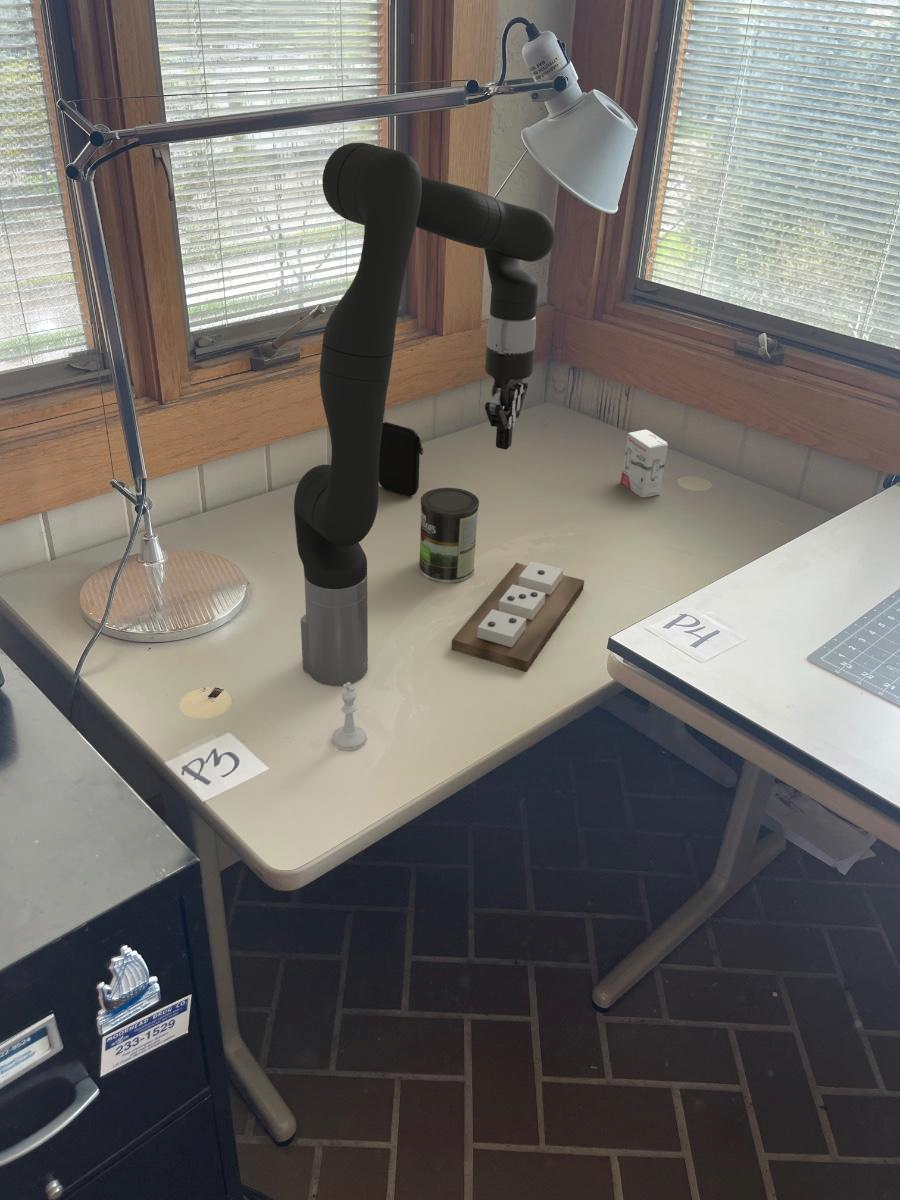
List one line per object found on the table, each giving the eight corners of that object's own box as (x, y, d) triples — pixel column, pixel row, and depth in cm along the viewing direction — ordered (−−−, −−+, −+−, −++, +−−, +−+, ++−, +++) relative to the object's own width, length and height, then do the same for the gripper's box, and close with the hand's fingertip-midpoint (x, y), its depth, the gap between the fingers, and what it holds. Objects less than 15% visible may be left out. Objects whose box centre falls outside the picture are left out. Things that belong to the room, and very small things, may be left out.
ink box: (619, 482, 220) (626, 431, 214) (638, 478, 222) (645, 428, 215) (641, 498, 213) (649, 446, 207) (660, 495, 215) (669, 443, 209)
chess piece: (349, 724, 147) (348, 668, 141) (374, 738, 144) (374, 682, 139) (324, 740, 143) (322, 683, 138) (349, 755, 141) (348, 698, 135)
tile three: (498, 610, 170) (499, 599, 168) (511, 594, 174) (512, 583, 173) (531, 620, 168) (533, 608, 166) (544, 603, 172) (545, 592, 171)
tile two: (477, 637, 163) (477, 626, 161) (491, 619, 167) (492, 608, 166) (511, 647, 161) (512, 635, 159) (525, 628, 165) (526, 617, 164)
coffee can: (430, 587, 180) (432, 516, 172) (411, 559, 188) (412, 491, 180) (483, 578, 183) (488, 509, 175) (462, 552, 191) (466, 484, 183)
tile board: (451, 649, 163) (452, 639, 162) (515, 572, 185) (516, 562, 184) (526, 671, 159) (527, 661, 158) (583, 589, 181) (584, 580, 180)
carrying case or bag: (425, 496, 210) (427, 430, 202) (417, 502, 208) (419, 435, 200) (383, 483, 215) (383, 418, 207) (374, 488, 212) (374, 422, 205)
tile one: (518, 586, 177) (519, 575, 175) (530, 570, 181) (531, 560, 180) (550, 594, 175) (551, 583, 173) (562, 579, 179) (563, 568, 178)
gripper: (504, 328, 163) (497, 429, 172) (471, 351, 153) (466, 457, 162) (548, 336, 161) (538, 437, 170) (517, 359, 150) (509, 466, 160)
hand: (503, 447), depth 166 cm, fingers closed
